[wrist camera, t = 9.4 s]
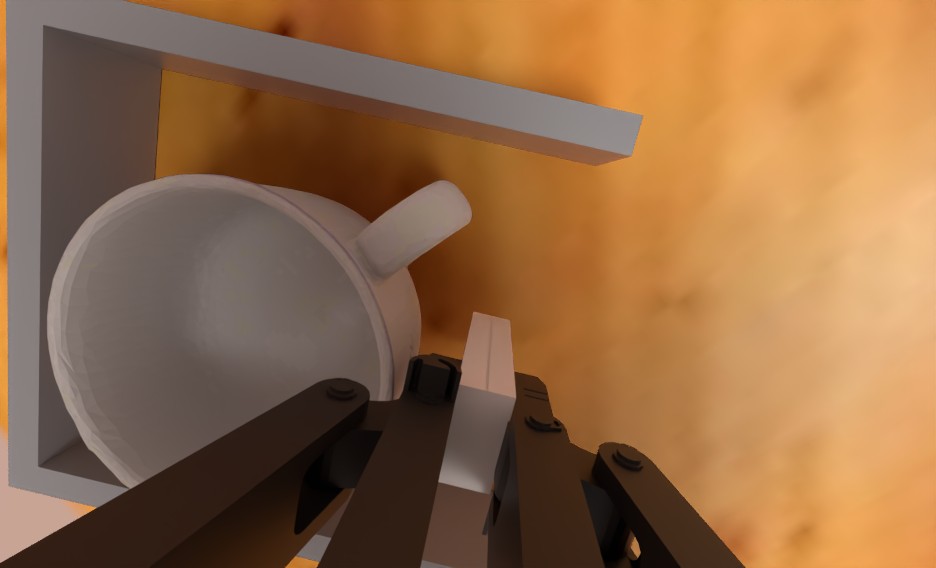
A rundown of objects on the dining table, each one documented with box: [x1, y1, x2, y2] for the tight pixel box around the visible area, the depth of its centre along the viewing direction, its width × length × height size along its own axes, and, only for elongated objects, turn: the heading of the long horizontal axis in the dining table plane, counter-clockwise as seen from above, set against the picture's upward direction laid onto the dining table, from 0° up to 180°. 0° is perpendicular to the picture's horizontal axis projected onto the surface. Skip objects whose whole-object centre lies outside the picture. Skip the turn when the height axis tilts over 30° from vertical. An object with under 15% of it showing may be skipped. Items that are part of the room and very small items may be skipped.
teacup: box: [47, 174, 472, 489], centre depth 16 cm, size 14×11×8 cm
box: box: [6, 0, 643, 568], centre depth 18 cm, size 18×20×5 cm
